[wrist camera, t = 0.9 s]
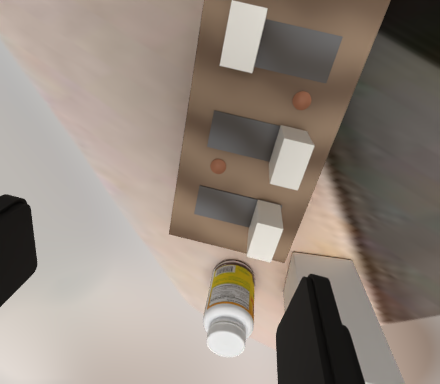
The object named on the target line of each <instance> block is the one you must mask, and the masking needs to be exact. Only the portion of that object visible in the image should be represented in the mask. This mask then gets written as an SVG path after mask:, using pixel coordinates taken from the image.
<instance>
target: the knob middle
mask: <svg viewBox="0 0 440 384" xmlns="http://www.w3.org/2000/svg"><path fill="white" fill-rule="evenodd" d="M314 146H315V145H314V144H313V142H312V140H311V138H310V136H309V135H308V133H307V131H304V130H300V129H296V128H292V127H287V126H283V125H281V126H280V129H279V133H278V136H277V139H276V142H275V146H274V149H273V152H272V155H271V159H270V162H269V179H270V184H273V185H277V186H281V187H285V188H289V189H293V190H297V191H298V189H299V186H300V183H301V181H302V178H303V175H304V173H305V170H306V167H307V165H308V162H309V159H310V157H311V154H312V151H313V149H314Z"/></svg>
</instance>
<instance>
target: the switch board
mask: <svg viewBox="0 0 440 384" xmlns="http://www.w3.org/2000/svg"><path fill="white" fill-rule="evenodd" d="M233 1H238V2H242V3H247V4H251V5H255V6H260V7H264V8H268V10H267V16H266V20H265V25H264V29H263V33H262V37H261V41H260V45H259V50H258V54H257V58H256V62H255V66H254V70H253V72H252V73H249V72H245V71H240V70H236V69H232V68H228V67H223V66H220V60H221V55H222V50H223V44H224V39H225V34H226V29H227V23H228V18H229V13H230V7H231V2H232V0H204V5H203V11H202V18H201V25H200V31H199V38H198V45H197V51H196V58H195V64H194V71H193V78H192V84H191V91H190V98H189V104H188V111H187V118H186V124H185V131H184V137H183V144H182V151H181V157H180V164H179V171H178V177H177V184H176V190H175V197H174V204H173V210H172V217H171V224H170V230H169V234H171V235H175V236H179V237H183V238H187V239H191V240H195V241H199V242H203V243H207V244H211V245H215V246H219V247H223V248H227V249H231V250H235V251H239V252H243V253H247V243H248V230H249V227H250V224H251V221H252V217H253V214H254V211H255V208H256V204H257V201H258V200H261V201H265V202H269V203H274V204H278V205H280V206H281V214H282V222H283V231H282V234H281V237H280V239H279V242H278V245H277V247H276V250H275V253H274V255H273V258H272V260H275V261H279V262H283V263H285V260H286V258H287V255H288V253H289V250H290V248H291V245H292V243H293V240H294V238H295V235H296V233H297V231H298V228H299V226H300V223H301V221H302V218H303V216H304V213H305V211H306V208H307V206H308V203H309V201H310V198H311V196H312V193H313V191H314V188H315V186H316V183H317V181H318V179H319V176H320V174H321V171H322V169H323V166H324V164H325V161H326V159H327V156H328V154H329V151H330V149H331V146H332V144H333V141H334V139H335V136H336V134H337V132H338V129H339V127H340V124H341V122H342V119H343V117H344V114H345V112H346V109H347V107H348V104H349V102H350V99H351V97H352V94H353V92H354V89H355V87H356V85H357V82H358V80H359V77H360V75H361V72H362V70H363V67H364V65H365V62H366V60H367V57H368V55H369V52H370V50H371V47H372V45H373V42H374V40H375V37H376V35H377V33H378V30H379V28H380V25H381V23H382V20H383V18H384V15H385V13H386V10H387V8H388V5H389V3H390V0H233ZM281 125H283V126H287V127H292V128H296V129H300V130H304V131H307V133H308V135H309V136H310V138H311V140H312V142H313V144H314V145H315V146H314V149H313V151H312V154H311V157H310V159H309V162H308V165H307V167H306V170H305V173H304V175H303V178H302V181H301V183H300V186H299V189H298V191H297V190H293V189H289V188H285V187H281V186H277V185H273V184H270V179H269V162H270V159H271V155H272V152H273V149H274V146H275V142H276V139H277V136H278V133H279V129H280V126H281Z"/></svg>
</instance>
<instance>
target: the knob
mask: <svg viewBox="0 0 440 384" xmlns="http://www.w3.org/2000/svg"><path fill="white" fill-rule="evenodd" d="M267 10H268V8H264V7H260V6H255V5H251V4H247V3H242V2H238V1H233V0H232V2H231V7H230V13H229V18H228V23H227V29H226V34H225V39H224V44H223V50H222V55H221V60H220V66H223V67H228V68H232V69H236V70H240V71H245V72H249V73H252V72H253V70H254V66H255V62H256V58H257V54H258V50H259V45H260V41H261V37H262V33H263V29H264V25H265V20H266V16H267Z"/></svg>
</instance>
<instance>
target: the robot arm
mask: <svg viewBox="0 0 440 384" xmlns="http://www.w3.org/2000/svg"><path fill="white" fill-rule="evenodd" d="M36 267H37V256H36V248H35V240H34V233H33V224H32V216H31V208H30V206H29V205H28V204H27V202H26V200H25V199H22V198H19V197H14V196H11V195H2V196H0V307H1V306H2V305H3V304H4V303H5V301H7V300H8V299H9V298H10V297H11V296H12V295H13V294H14V293H15V292H16V291H17V290H18V289H19V288H20V287H21V285H23V284H24V283H25V282H26V281H27V280H28V278H29V277H30V276H31V275H32V274H33V273H34V272H35V270H36ZM276 349H277V372H278V384H365V381H364V377H363V374H362V371H361V367H360V364H359V361H358V357H357V354H356V351H355V347H354V344H353V341H352V338H351V334H350V332H349V329H348V328H347V327H346V326H345V325H342V322H341V319H340V315H339V311H338V308H337V304H336V301H335V297H334V294H333V290H332V287H331V283H330V280H329V279H328V278H326V277H323V276H319V275H315V274H309V275H308V277H305V276H303V277H302V279H301V281H300V283H299V285H298V287H297V289H296V291H295V293H294V295H293V297H292V299H291V301H290V303H289V305H288V307H287V309H286V311H285V314H284V316H283V318H282V320H281V322H280V324H279V326H278V328H277V333H276Z"/></svg>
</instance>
